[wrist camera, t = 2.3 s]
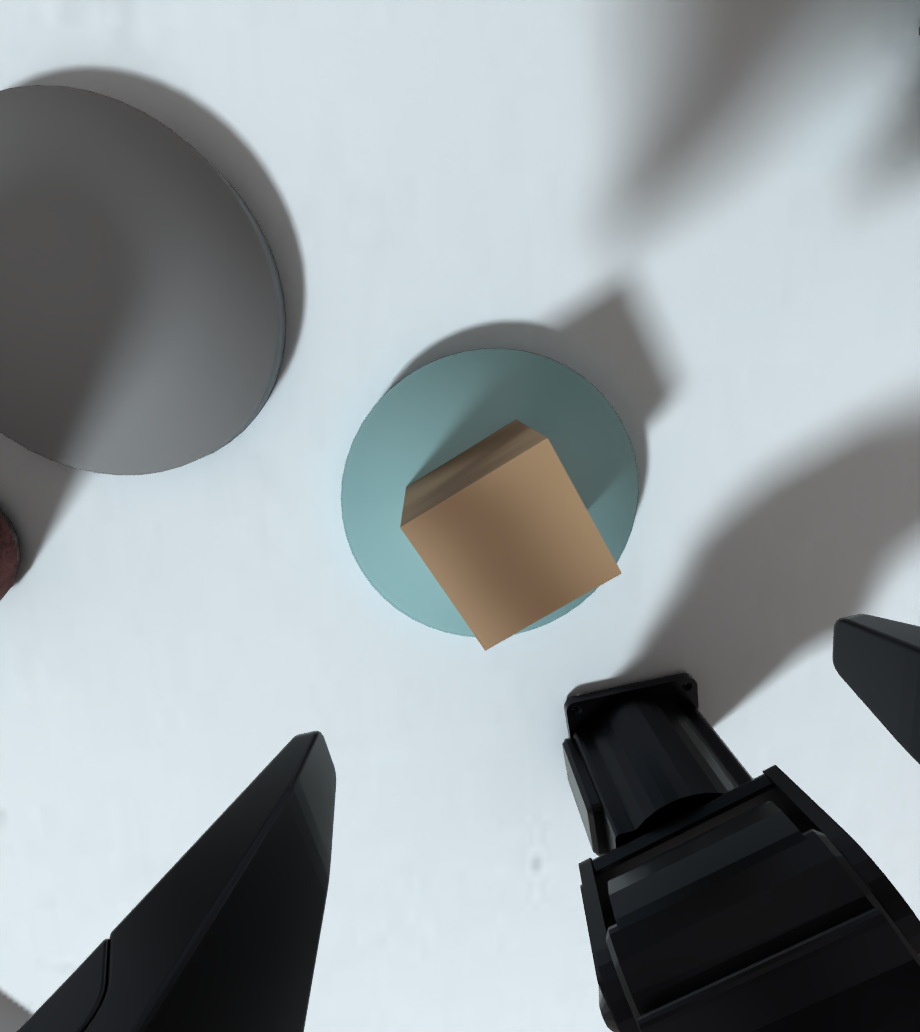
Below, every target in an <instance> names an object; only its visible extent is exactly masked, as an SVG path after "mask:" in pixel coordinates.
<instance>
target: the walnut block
mask: <svg viewBox="0 0 920 1032" xmlns="http://www.w3.org/2000/svg"><path fill="white" fill-rule="evenodd" d="M400 528H401V530H402V531H403V533H404V534H405V535H406V537H407V538H408V540H409V541H410V543H411V544H412V546H413V547H414V548H415V550H416V551H417V553H418V554H419V556H420V557H421V559H422V560H423V561H424V563H425V564H426V566H427V567H428V569H429V570H430V572H431V573H432V574H433V576H434V577H435V579H436V580H437V582H438V583H439V585H440V586H441V587H442V589H443V590H444V592H445V593H446V595H447V596H448V598H449V599H450V600H451V602H452V603H453V605H454V606H455V608H456V609H457V611H458V612H459V613H460V615H461V616H462V618H463V619H464V621H465V622H466V624H467V625H468V626H469V628H470V629H471V631H472V632H473V634H474V635H475V637H476V638H477V639H478V641H479V642H480V644H481V645H482V647H483V648H484V650H487V649H489V648H491V647H492V646H494V645H496V644H498V643H499V642H501V641H503V640H505V639H507V638H508V637H510V636H512V635H514V634H515V633H517V632H519V631H521V630H522V629H524V628H526V627H528V626H529V625H531V624H533V623H535V622H537V621H538V620H540V619H542V618H544V617H545V616H547V615H549V614H551V613H552V612H554V611H556V610H558V609H559V608H561V607H563V606H565V605H566V604H568V603H570V602H572V601H574V600H575V599H577V598H579V597H581V596H582V595H584V594H586V593H588V592H589V591H591V590H593V589H595V588H596V587H598V586H600V585H602V584H604V583H605V582H607V581H609V580H611V579H612V578H614V577H616V576H618V575H619V574H621V571H620V569H619V568H618V566H617V564H616V562H615V560H614V558H613V557H612V555H611V553H610V551H609V549H608V548H607V546H606V544H605V542H604V540H603V538H602V537H601V535H600V533H599V531H598V529H597V527H596V526H595V524H594V522H593V520H592V518H591V516H590V515H589V513H588V511H587V509H586V507H585V505H584V504H583V502H582V500H581V498H580V496H579V494H578V493H577V491H576V489H575V487H574V485H573V483H572V482H571V480H570V478H569V476H568V474H567V472H566V471H565V469H564V467H563V465H562V463H561V461H560V460H559V458H558V456H557V454H556V452H555V450H554V449H553V447H552V445H551V443H550V441H549V439H548V438H547V437H545V436H544V435H542V434H540V433H539V432H537V431H535V430H533V429H532V428H530V427H528V426H527V425H525V424H523V423H522V422H520V421H518V420H514V421H512V422H511V423H509V424H508V425H506V426H504V427H503V428H501V429H499V430H498V431H496V432H495V433H493V434H491V435H490V436H488V437H486V438H485V439H483V440H482V441H480V442H478V443H477V444H475V445H473V446H472V447H470V448H469V449H467V450H465V451H464V452H462V453H460V454H459V455H457V456H456V457H454V458H452V459H451V460H449V461H448V462H446V463H444V464H443V465H441V466H439V467H438V468H436V469H435V470H433V471H431V472H430V473H428V474H426V475H425V476H423V477H422V478H420V479H418V480H417V481H415V482H413V483H412V484H410V485H409V486H407V487H406V491H405V497H404V504H403V511H402V517H401V524H400Z"/></svg>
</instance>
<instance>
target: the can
mask: <svg viewBox="0 0 920 1032" xmlns="http://www.w3.org/2000/svg"><path fill="white" fill-rule="evenodd" d="M19 561H20V550H19V542H18V537H17V535H16V533H15V531H14V529H13V527H12V525H11V522H10V520H9V518H8V517H7V516H6V515H5V514H4V513H3V512H2V511H1V509H0V600H1V599H2V598H3V597H4V595H5V594H6V593H7V592H8V590H9V589H10V588H11V587H12V586H13V583H14V580H15V576H16V572H17V569H18V565H19Z"/></svg>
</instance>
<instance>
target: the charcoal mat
mask: <svg viewBox="0 0 920 1032" xmlns="http://www.w3.org/2000/svg"><path fill="white" fill-rule="evenodd" d="M285 324H286V317H285V307H284V297H283V291H282V287H281V282H280V278H279V273H278V270H277V267H276V264H275V261H274V259H273V256H272V253H271V250H270V247H269V245H268V243H267V241H266V239H265V237H264V235H263V233H262V231H261V229H260V227H259V225H258V223H257V221H256V220H255V218H254V217H253V215H252V213H251V212H250V210H249V209H248V207H247V205H246V204H245V202H244V201H243V200H242V199H241V197H240V196H239V195H238V194H237V192H236V191H235V190H234V189H233V187H232V186H231V185H230V183H229V182H228V181H227V180H226V179H225V178H224V177H223V176H222V175H221V174H220V173H219V172H218V171H217V170H216V169H215V168H214V167H213V166H212V165H211V164H210V163H209V162H208V161H207V160H206V159H205V158H204V157H203V156H202V155H201V154H200V153H198V152H197V151H196V150H195V149H194V148H193V147H192V146H191V145H189V144H188V143H187V142H186V141H184V140H183V139H182V138H181V137H179V136H178V135H177V134H176V133H175V132H173V131H172V130H171V129H169V128H168V127H166V126H165V125H163V124H162V123H160V122H158V121H157V120H155V119H154V118H152V117H150V116H149V115H147V114H146V113H144V112H142V111H140V110H138V109H135V108H133V107H131V106H129V105H127V104H125V103H123V102H121V101H119V100H116V99H113V98H110V97H107V96H103V95H100V94H97V93H94V92H91V91H86V90H81V89H75V88H70V87H64V86H42V85H34V86H25V87H17V88H9V89H6V90H2V91H0V432H1V433H3V434H4V435H5V436H7V437H8V438H10V439H12V440H13V441H15V442H17V443H18V444H20V445H22V446H24V447H25V448H27V449H29V450H31V451H33V452H35V453H37V454H39V455H41V456H44V457H46V458H48V459H50V460H53V461H56V462H58V463H61V464H64V465H67V466H70V467H73V468H77V469H82V470H86V471H91V472H95V473H103V474H112V475H143V474H150V473H157V472H163V471H166V470H170V469H174V468H177V467H181V466H183V465H186V464H188V463H191V462H193V461H195V460H198V459H200V458H202V457H205V456H207V455H209V454H211V453H214V452H215V451H217V450H218V449H220V448H222V447H223V446H225V445H227V444H228V443H230V442H231V441H232V440H233V439H234V438H236V437H237V436H238V435H239V434H240V433H242V432H243V431H244V430H245V429H246V428H247V427H248V425H249V424H250V423H251V422H252V421H253V420H254V419H255V417H256V416H257V415H258V413H259V412H260V410H261V409H262V407H263V406H264V404H265V403H266V401H267V399H268V397H269V395H270V393H271V391H272V389H273V386H274V384H275V382H276V379H277V376H278V372H279V369H280V366H281V362H282V357H283V351H284V344H285Z"/></svg>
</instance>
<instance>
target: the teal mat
mask: <svg viewBox="0 0 920 1032" xmlns="http://www.w3.org/2000/svg"><path fill="white" fill-rule="evenodd" d="M514 420H518V421H520V422H522V423H523V424H525V425H527V426H528V427H530V428H532V429H533V430H535V431H537V432H539V433H540V434H542V435H544V436H545V437H547V438H548V439H549V441H550V443H551V445H552V447H553V449H554V450H555V452H556V454H557V456H558V458H559V460H560V461H561V463H562V465H563V467H564V469H565V471H566V472H567V474H568V476H569V478H570V480H571V482H572V483H573V485H574V487H575V489H576V491H577V493H578V494H579V496H580V498H581V500H582V502H583V504H584V505H585V507H586V509H587V511H588V513H589V515H590V516H591V518H592V520H593V522H594V524H595V526H596V527H597V529H598V531H599V533H600V535H601V537H602V538H603V540H604V542H605V544H606V546H607V548H608V549H609V551H610V553H611V555H612V557H613V558H614V560H615V562H616V563H617V562H618V560H619V558H620V556H621V554H622V552H623V550H624V548H625V546H626V544H627V541H628V539H629V536H630V533H631V531H632V527H633V523H634V519H635V515H636V509H637V500H638V473H637V467H636V460H635V455H634V452H633V449H632V445H631V442H630V439H629V436H628V434H627V432H626V430H625V428H624V425H623V423H622V421H621V420H620V418H619V416H618V415H617V413H616V412H615V410H614V409H613V407H612V406H611V404H610V403H609V402H608V401H607V400H606V399H605V397H604V396H603V395H602V394H601V393H600V392H599V390H598V389H596V388H595V387H594V386H593V385H592V384H591V383H589V382H588V381H587V380H586V379H585V378H584V377H582V376H581V375H579V374H578V373H576V372H574V371H573V370H571V369H570V368H568V367H567V366H565V365H563V364H560V363H558V362H556V361H554V360H551V359H549V358H547V357H544V356H540V355H537V354H533V353H530V352H526V351H519V350H512V349H479V350H472V351H465V352H461V353H457V354H454V355H450V356H446V357H443V358H441V359H438V360H436V361H434V362H431V363H429V364H427V365H425V366H423V367H421V368H419V369H418V370H416V371H414V372H413V373H411V374H409V375H408V376H406V377H405V378H404V379H402V380H401V381H400V382H399V383H397V384H396V385H395V386H394V387H392V388H391V389H390V390H389V391H388V392H387V393H386V394H385V395H384V396H383V397H382V398H381V399H380V400H379V402H378V403H377V404H376V405H375V406H374V407H373V409H372V410H371V411H370V413H369V414H368V416H367V417H366V419H365V420H364V421H363V423H362V425H361V427H360V428H359V430H358V432H357V434H356V436H355V438H354V440H353V442H352V445H351V448H350V451H349V454H348V457H347V459H346V464H345V468H344V473H343V478H342V491H341V506H342V519H343V523H344V528H345V533H346V537H347V540H348V543H349V545H350V548H351V551H352V554H353V556H354V558H355V559H356V561H357V563H358V565H359V567H360V569H361V571H362V572H363V574H364V575H365V576H366V578H367V579H368V581H369V582H370V583H371V585H372V586H373V587H374V588H375V589H376V590H377V591H378V592H379V594H380V595H381V596H382V597H383V598H384V599H385V600H387V601H388V602H389V603H390V604H391V605H393V606H394V607H395V608H396V609H397V610H399V611H401V612H402V613H404V614H405V615H407V616H408V617H410V618H412V619H413V620H415V621H418V622H420V623H422V624H424V625H426V626H428V627H431V628H434V629H437V630H440V631H443V632H446V633H451V634H456V635H461V636H471V637H475V635H474V634H473V632H472V631H471V629H470V628H469V626H468V625H467V624H466V622H465V621H464V619H463V618H462V616H461V615H460V613H459V612H458V611H457V609H456V608H455V606H454V605H453V603H452V602H451V600H450V599H449V598H448V596H447V595H446V593H445V592H444V590H443V589H442V587H441V586H440V585H439V583H438V582H437V580H436V579H435V577H434V576H433V574H432V573H431V572H430V570H429V569H428V567H427V566H426V564H425V563H424V561H423V560H422V559H421V557H420V556H419V554H418V553H417V551H416V550H415V548H414V547H413V546H412V544H411V543H410V541H409V540H408V538H407V537H406V535H405V534H404V533H403V531H402V530H401V528H400V524H401V517H402V511H403V504H404V497H405V491H406V487H407V486H409V485H410V484H412V483H413V482H415V481H417V480H418V479H420V478H422V477H423V476H425V475H426V474H428V473H430V472H431V471H433V470H435V469H436V468H438V467H439V466H441V465H443V464H444V463H446V462H448V461H449V460H451V459H452V458H454V457H456V456H457V455H459V454H460V453H462V452H464V451H465V450H467V449H469V448H470V447H472V446H473V445H475V444H477V443H478V442H480V441H482V440H483V439H485V438H486V437H488V436H490V435H491V434H493V433H495V432H496V431H498V430H499V429H501V428H503V427H504V426H506V425H508V424H509V423H511V422H512V421H514ZM598 587H599V586H598ZM598 587H596V588H595V589H593V590H591V591H589V592H588V593H586V594H584V595H582V596H581V597H579V598H577V599H575V600H574V601H572V602H570V603H568V604H566V605H565V606H563V607H561V608H559V609H558V610H556V611H554V612H552V613H551V614H549V615H547V616H545V617H544V618H542V619H540V620H538V621H537V622H535V623H533V624H531V625H529V626H528V627H526V628H524V629H522V630H521V631H519V632H517V633H515V634H518V633H521V632H525V631H529V630H532V629H535V628H538V627H540V626H543V625H545V624H548V623H550V622H552V621H554V620H556V619H557V618H559V617H561V616H563V615H565V614H567V613H568V612H569V611H571V610H572V609H574V608H575V607H577V606H578V605H579V604H581V603H582V602H583V601H584V600H585V599H586V598H588V597H589V596H590V595H591V594H592V593H593V592H594V591H595V590H596V589H597V588H598Z"/></svg>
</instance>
